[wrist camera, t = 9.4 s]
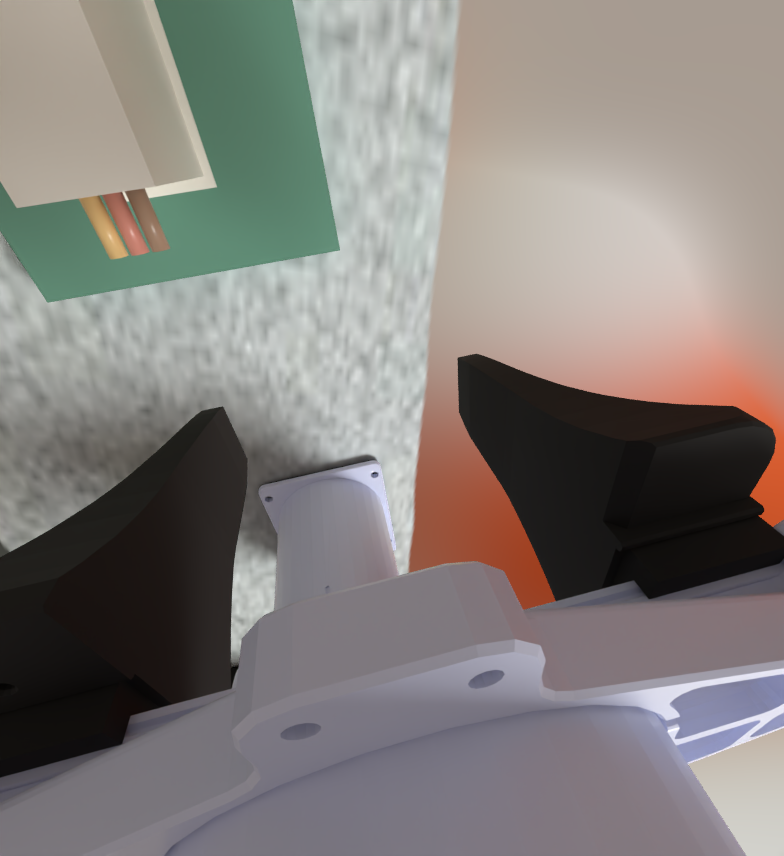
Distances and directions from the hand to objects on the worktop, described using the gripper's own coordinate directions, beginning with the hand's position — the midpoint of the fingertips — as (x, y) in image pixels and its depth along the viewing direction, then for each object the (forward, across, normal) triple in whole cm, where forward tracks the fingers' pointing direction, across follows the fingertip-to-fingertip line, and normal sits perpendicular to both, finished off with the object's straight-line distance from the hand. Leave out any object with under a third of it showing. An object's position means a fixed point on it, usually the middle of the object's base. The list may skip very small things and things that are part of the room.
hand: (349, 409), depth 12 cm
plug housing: (+8, +5, -9) cm, 13 cm away
